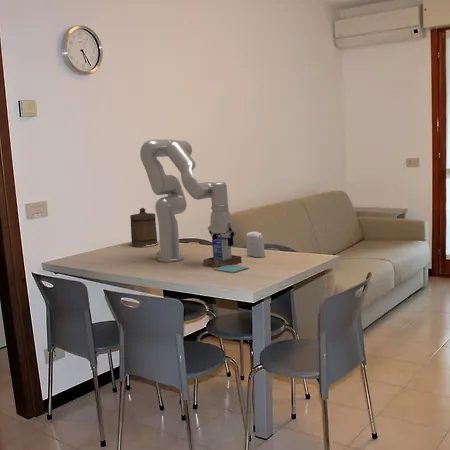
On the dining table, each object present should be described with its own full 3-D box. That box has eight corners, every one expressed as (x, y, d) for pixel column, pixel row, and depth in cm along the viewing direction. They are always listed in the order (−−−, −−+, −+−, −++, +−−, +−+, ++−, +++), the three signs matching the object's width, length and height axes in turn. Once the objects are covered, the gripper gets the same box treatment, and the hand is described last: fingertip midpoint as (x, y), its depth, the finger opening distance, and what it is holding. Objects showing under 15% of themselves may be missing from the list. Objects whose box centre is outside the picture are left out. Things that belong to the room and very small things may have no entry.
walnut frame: (203, 265, 259) (203, 259, 259) (224, 260, 270) (224, 254, 269) (220, 268, 252) (220, 261, 252) (241, 262, 263) (241, 256, 262)
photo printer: (245, 255, 278) (244, 231, 277) (252, 254, 281) (250, 230, 279) (259, 258, 270) (258, 233, 269) (266, 256, 273) (265, 232, 271)
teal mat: (213, 270, 249) (213, 268, 248) (228, 266, 256) (228, 264, 256) (233, 273, 240) (233, 271, 240) (248, 268, 248) (248, 267, 248)
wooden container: (160, 242, 333) (157, 206, 331) (153, 247, 319) (151, 209, 316) (136, 243, 336) (133, 207, 333) (128, 247, 321) (125, 210, 318)
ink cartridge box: (222, 261, 267) (220, 231, 265) (232, 262, 264) (231, 232, 262) (212, 266, 258) (211, 235, 256) (223, 266, 255) (222, 235, 253)
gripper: (201, 209, 260) (204, 245, 262) (228, 210, 249) (231, 247, 251) (212, 207, 266) (215, 243, 268) (239, 208, 254) (242, 244, 256)
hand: (223, 245), depth 259 cm, fingers open, 9 cm apart
